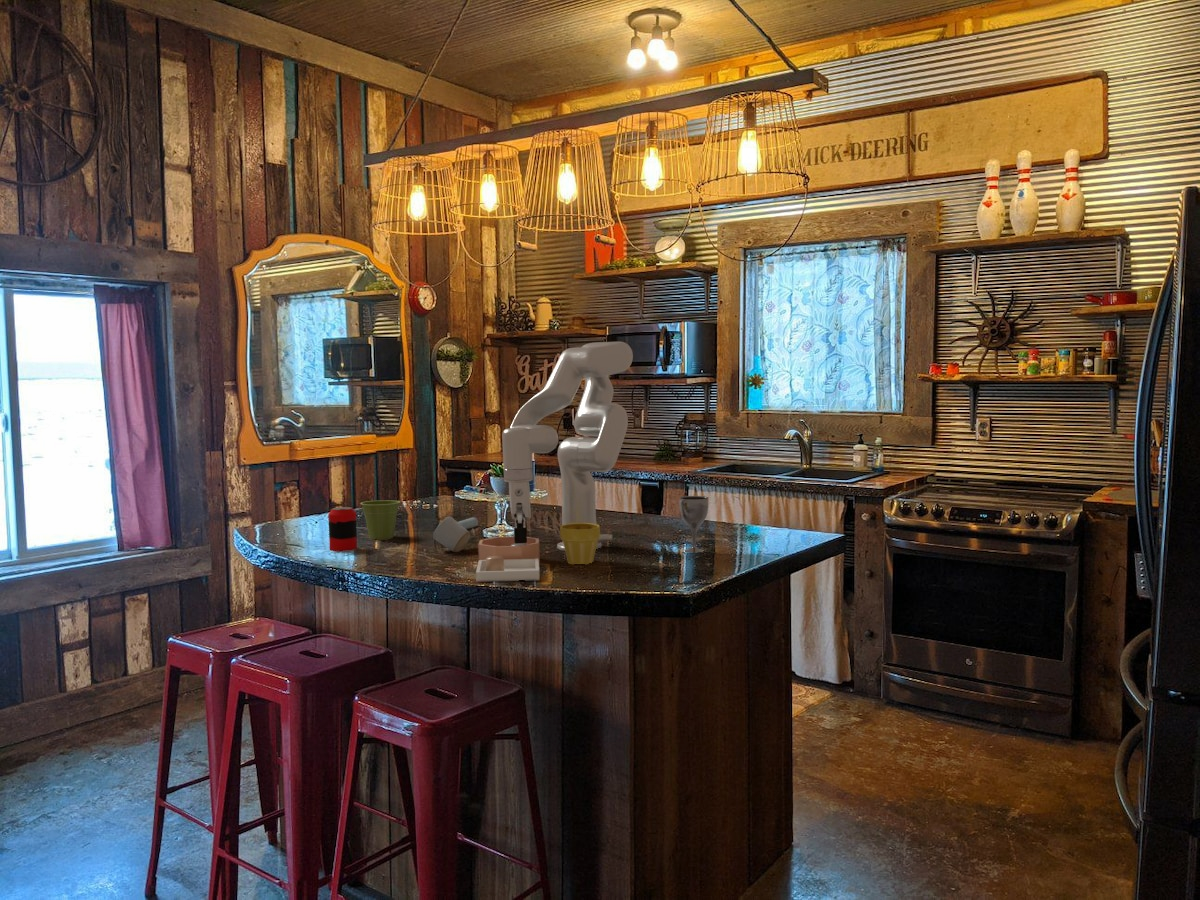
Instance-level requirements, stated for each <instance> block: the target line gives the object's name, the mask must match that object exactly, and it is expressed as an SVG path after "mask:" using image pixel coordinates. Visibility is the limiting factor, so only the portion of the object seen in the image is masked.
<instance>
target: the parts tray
mask: <svg viewBox="0 0 1200 900" xmlns="http://www.w3.org/2000/svg"><path fill="white" fill-rule="evenodd" d="M475 579H476V580H475V582H476V583H478V582H479V583H481V582H484V583H485V582H514V581H515V582H518V581H519V580H525V581H540V563H539V560H538V559H504V571H486V560H479V559H478V562H477V566H476V570H475ZM519 582H520V581H519Z"/></svg>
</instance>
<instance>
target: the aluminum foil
mask: <svg viewBox="0 0 1200 900" xmlns="http://www.w3.org/2000/svg"><path fill="white" fill-rule="evenodd" d="M457 522H458V523H459V524H460V525H461V526H463V527H464V528H465V529H466V530H470V529H471V528H475V527H478V526H479V520H478V518H476V517H469V518H466V519H463V520H460V521H457ZM435 530H436V528H435V529H434V531H433V533H434V532H435Z"/></svg>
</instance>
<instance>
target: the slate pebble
mask: <svg viewBox="0 0 1200 900" xmlns="http://www.w3.org/2000/svg"><path fill="white" fill-rule="evenodd" d="M522 545H527V544H525V543H517V544H516V543H515V544H511V546H522Z"/></svg>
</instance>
